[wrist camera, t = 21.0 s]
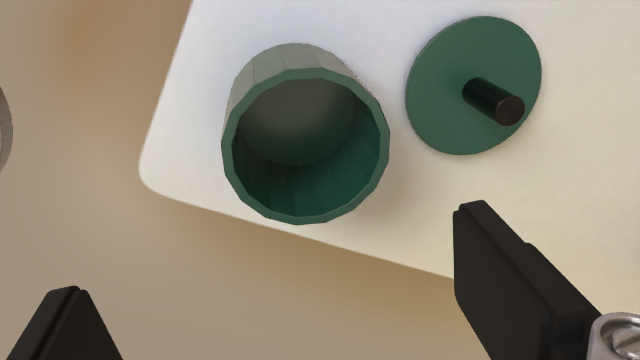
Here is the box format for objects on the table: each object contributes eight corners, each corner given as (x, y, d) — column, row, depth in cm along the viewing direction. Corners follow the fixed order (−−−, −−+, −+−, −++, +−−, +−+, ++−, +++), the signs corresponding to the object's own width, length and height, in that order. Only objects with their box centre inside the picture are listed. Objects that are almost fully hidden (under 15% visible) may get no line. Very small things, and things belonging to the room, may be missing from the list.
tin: (213, 150, 39) (202, 202, 31) (251, 22, 35) (251, 41, 27) (331, 184, 42) (351, 240, 34) (380, 70, 38) (416, 101, 30)
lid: (381, 128, 41) (405, 160, 34) (442, -8, 36) (483, -1, 30) (491, 165, 44) (532, 200, 37) (559, 44, 39) (619, 61, 33)
